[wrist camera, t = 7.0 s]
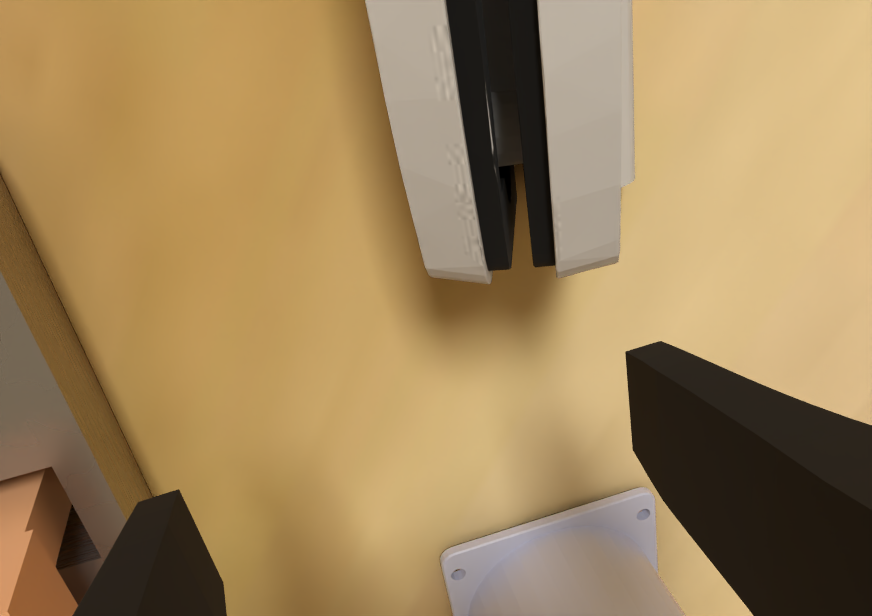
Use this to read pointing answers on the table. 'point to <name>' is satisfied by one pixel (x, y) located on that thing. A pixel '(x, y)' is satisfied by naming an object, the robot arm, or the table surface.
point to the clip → (33, 545)
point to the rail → (58, 410)
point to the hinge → (510, 126)
